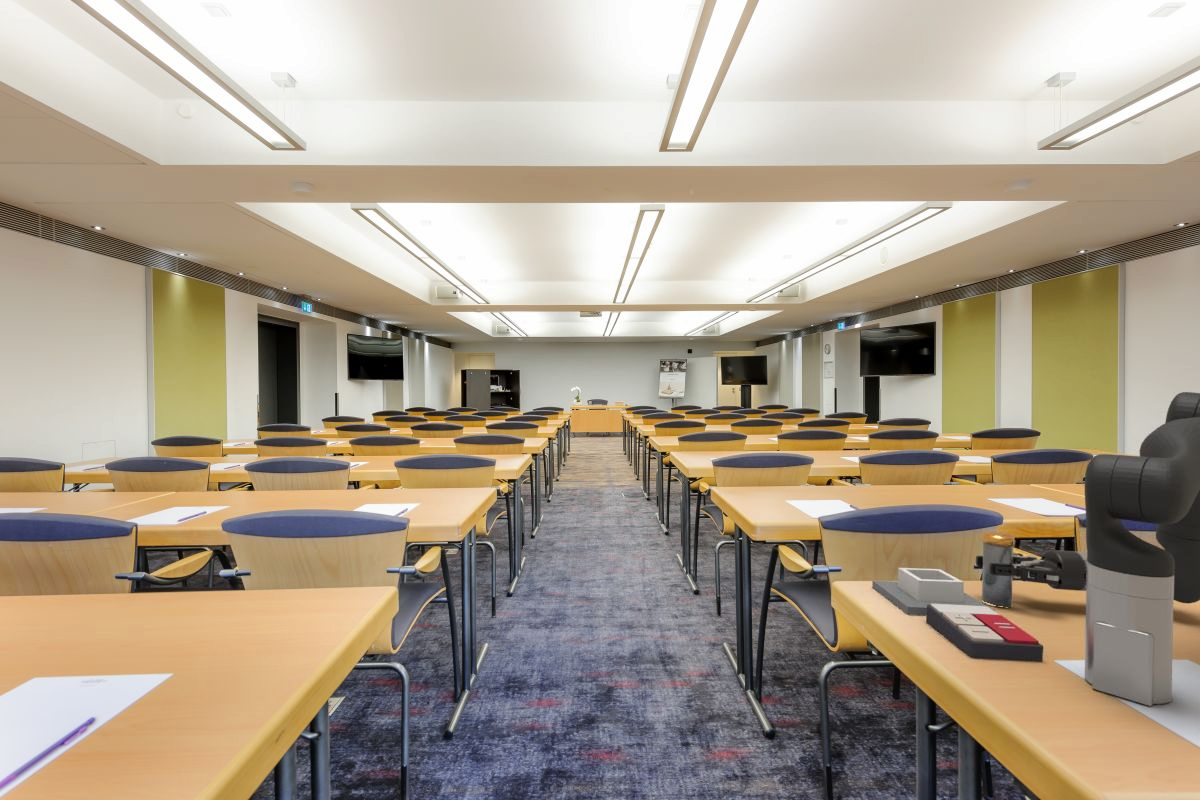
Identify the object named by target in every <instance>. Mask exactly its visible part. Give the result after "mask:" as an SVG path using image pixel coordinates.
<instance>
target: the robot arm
mask: <svg viewBox="0 0 1200 800" xmlns="http://www.w3.org/2000/svg"><path fill="white" fill-rule="evenodd" d="M1084 503H1085V504H1084V505H1085V525H1086V527H1085V539H1086V540H1085V542H1086V551H1074V550H1057V549H1056V550H1055V549H1050V550H1046V551H1045V552H1044V553H1043V554H1042V556H1041V558H1038V557H1037V556H1034V555H1033V556H1032V555H1026V556H1024V554H1022V553H1019V552H1018V553H1013V564H1012V566H1011V565H1010V564H1000V563H990V564H989V573H990V574H992V575H1000V576H1011V575H1012V579H1020V581H1022V582H1029V583H1030V582H1031V583H1039V584H1047V585H1048V586H1049V587H1050V588H1052V589H1054V590H1061V591H1065V590H1066V591H1075V592H1076V591H1077V592H1078V591H1079V592H1086V595H1085V599H1086V600H1085V629H1084V630H1085V637H1084V638H1085V639H1084V640H1085V641H1084V642H1085V643H1084V679H1085V680H1086V682H1088V683H1089V684H1091V688H1092V689H1093V690H1097V691H1100V692H1103V693H1107V694H1110V695H1113V696H1117V697H1120V698H1123V699H1126V700H1129V701H1133V702H1137V703H1139V704H1142V705H1146V706H1149V707H1152V706H1153V705H1157V704H1161V705H1162V704H1167V703H1170V702H1171V701H1172V698H1173V697H1172V696H1173V693H1172V692H1173V650H1174V649H1173V645H1174V644H1173V642H1174V636H1173V635H1174V604H1175V603H1174V601H1175V602H1178V603H1180V604H1194V603H1198V602H1199V601H1200V392H1193V391H1191V392H1189V391H1182V392H1179V393H1177V394H1176V395H1175V396H1174V397H1173V399H1172V400H1171V401H1170V404H1169V406H1168V409H1167V413H1166V417H1165V422H1164V424H1162V425H1160V426H1158V427H1156V428H1155V429H1154V430H1153V431H1152V432H1151V433H1149V434H1148V435H1147V436H1146V437H1145V438H1144V439H1143V441H1142V442H1141V444H1140V448H1139V456H1138V455H1127V454H1125V455H1124V454H1106V453H1105V454H1102V453H1100V454H1096V455H1095V456H1093V457H1092V458H1091V459H1090V460H1089V462H1088V463H1087V465H1086V469H1085V474H1084ZM1122 520H1125V521H1130V522H1131V521H1132V522H1139V523H1146V524H1147V523H1148V524H1151V525H1152V524H1153V525H1156V530H1155V539H1156V541H1157V543H1158V544H1159V545H1160V546H1161V547H1159V546H1157V545H1154V544H1152V543H1150V542H1147V541H1146V540H1143V539H1141V538H1140V537H1139V536H1136V535H1135V534H1133V533H1132V531H1129V530H1128V529H1127V528H1126V527H1125V526H1124V525H1123V522H1122ZM975 565H976V566H977V567H978V568H983V555H976V557H975Z"/></svg>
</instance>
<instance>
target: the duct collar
mask: <svg viewBox="0 0 1200 800" xmlns="http://www.w3.org/2000/svg"><path fill="white" fill-rule="evenodd" d="M964 583H965V581H963V580H961V579H959V578H958V577H955V576H953V575H951V574H950V573H948V572H946V571H945V570H942V569H940V568H916V567H915V568H914V567H911V568H910V567H897V581H893V580H872V585H871V586H872V589H873V590H875V591H876V592H878V593H879V594H880V595H882V596H883V597H884V598H885V599H886V600H888V601H889V602H890V603H892V604H893V605H894V606H896V607H897V608H898V609H899V610H901V611H902V612H903V613H904V614H906V615H908V616H926V615H927V605H928V604H930V605H931V604H950V605H970V606H987V607H989V608H990V609H992V610H993V611H995V612H996V610H995V609H994V608H992V607H991V606H989V605H986V604H984V603H983V602H982V601H980V600H977V599H976V598H975V597H973V596H971V595H969V594H968V593H965V592H964V591H965V590H964V588H965V586H964V585H965V584H964Z"/></svg>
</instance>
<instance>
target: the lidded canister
mask: <svg viewBox="0 0 1200 800" xmlns="http://www.w3.org/2000/svg"><path fill="white" fill-rule="evenodd" d="M981 541H982V556H983V567H982V573H981V575H982V577H981V578H982V581H981V583H982V584H981V585H982V586H981V590H982V591H981V601H982V600H983V601H984V602H987V603H990V604H993V605H996V606H1003V607H1011V606H1012V607H1013V577H1012V575H1011V576H1000V575H992V574H990V573H989V564H990V563H1000V564H1010V565H1011V566H1012V564H1013V554H1014V546H1015V536H1014V535H1012V534H1009V533H1005V532H1004V533H1003V532H998V531H997V532H996V531H982V532H981ZM1012 607H1011V608H1012Z"/></svg>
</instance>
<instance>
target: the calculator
mask: <svg viewBox="0 0 1200 800" xmlns="http://www.w3.org/2000/svg"><path fill="white" fill-rule="evenodd" d="M987 606H988V605H987ZM987 606H970V605H950V604H931V605H930V604H928V605H927V615H925V617H926V620H925V623H926V624H927V625H929V627H931V628H932V629H933V630H935V631H937V632H939V633H940V634H941V635H942V636H943V637H944V638H946V639H947V640H948V641H949V642H950V643H951V644H952V645H954V646H955V647H956V648H957V649H959V650H960V651H961V652H962V653H964V654H965V655H966V656H967V657H969V658H970V659H981V660H999V661H1017V662H1021V661H1022V662H1032V663H1033V662H1038V663H1043V657H1044V645H1042V643H1039V640H1038V639H1036V638H1035V637H1034V636H1033V635H1030V634H1029V633H1028V632H1027V631H1025V630H1024V629H1022V628H1021V627H1019V626H1018V625H1016V624H1015V623H1013V622H1012V621H1010V620H1009V619H1008V618H1007V617H1005V616H1004V615H1001V614H999V613H998V612H996V610H995V611H993V610H992V609H993V608H992V609H990V608H991V607H990V606H988V607H987ZM989 607H990V608H989Z"/></svg>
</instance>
